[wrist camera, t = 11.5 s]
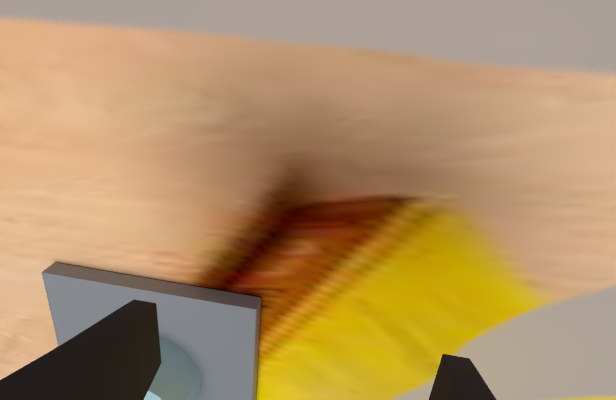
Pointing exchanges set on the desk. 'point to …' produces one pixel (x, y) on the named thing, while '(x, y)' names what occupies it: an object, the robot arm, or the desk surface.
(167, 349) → the flange ring
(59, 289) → the post base
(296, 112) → the desk surface
